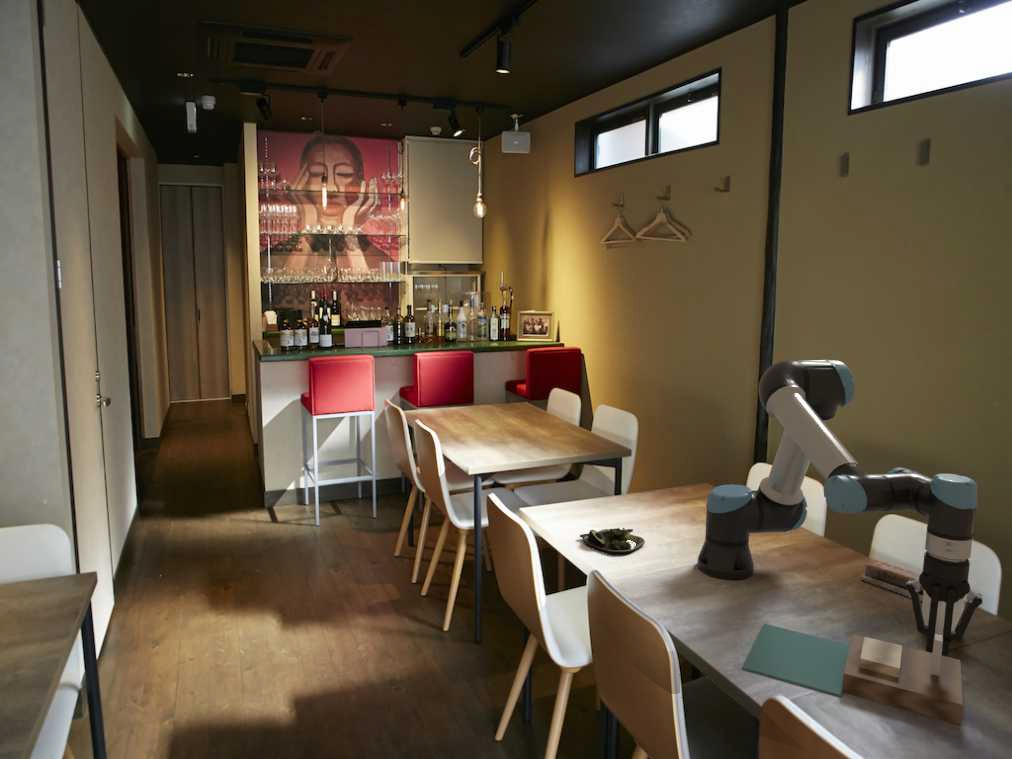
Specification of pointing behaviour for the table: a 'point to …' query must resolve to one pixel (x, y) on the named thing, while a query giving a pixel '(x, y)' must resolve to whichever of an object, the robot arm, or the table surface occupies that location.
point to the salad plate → (612, 541)
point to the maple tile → (881, 656)
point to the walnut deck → (908, 683)
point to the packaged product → (890, 577)
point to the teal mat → (798, 659)
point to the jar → (942, 613)
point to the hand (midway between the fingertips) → (935, 668)
